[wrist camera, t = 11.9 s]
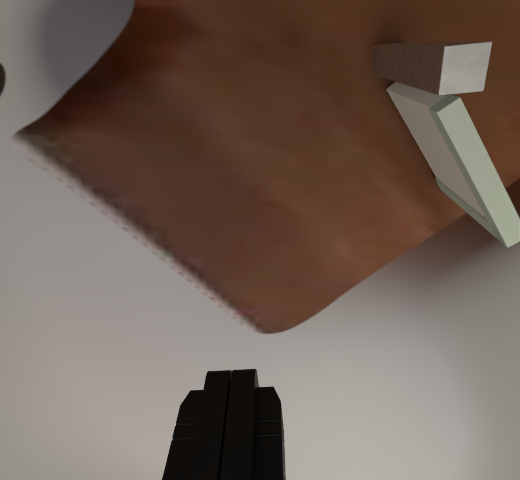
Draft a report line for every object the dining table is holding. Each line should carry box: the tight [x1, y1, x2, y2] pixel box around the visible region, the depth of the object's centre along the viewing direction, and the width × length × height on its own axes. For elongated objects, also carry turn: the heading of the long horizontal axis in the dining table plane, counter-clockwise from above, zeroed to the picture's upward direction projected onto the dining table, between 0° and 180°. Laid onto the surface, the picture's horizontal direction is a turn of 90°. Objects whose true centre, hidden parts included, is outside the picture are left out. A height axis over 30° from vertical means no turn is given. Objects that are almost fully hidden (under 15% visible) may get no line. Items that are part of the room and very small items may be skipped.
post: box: [373, 42, 492, 95], centre depth 29 cm, size 3×3×16 cm
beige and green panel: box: [386, 82, 520, 247], centre depth 32 cm, size 13×2×13 cm, turn 38°
